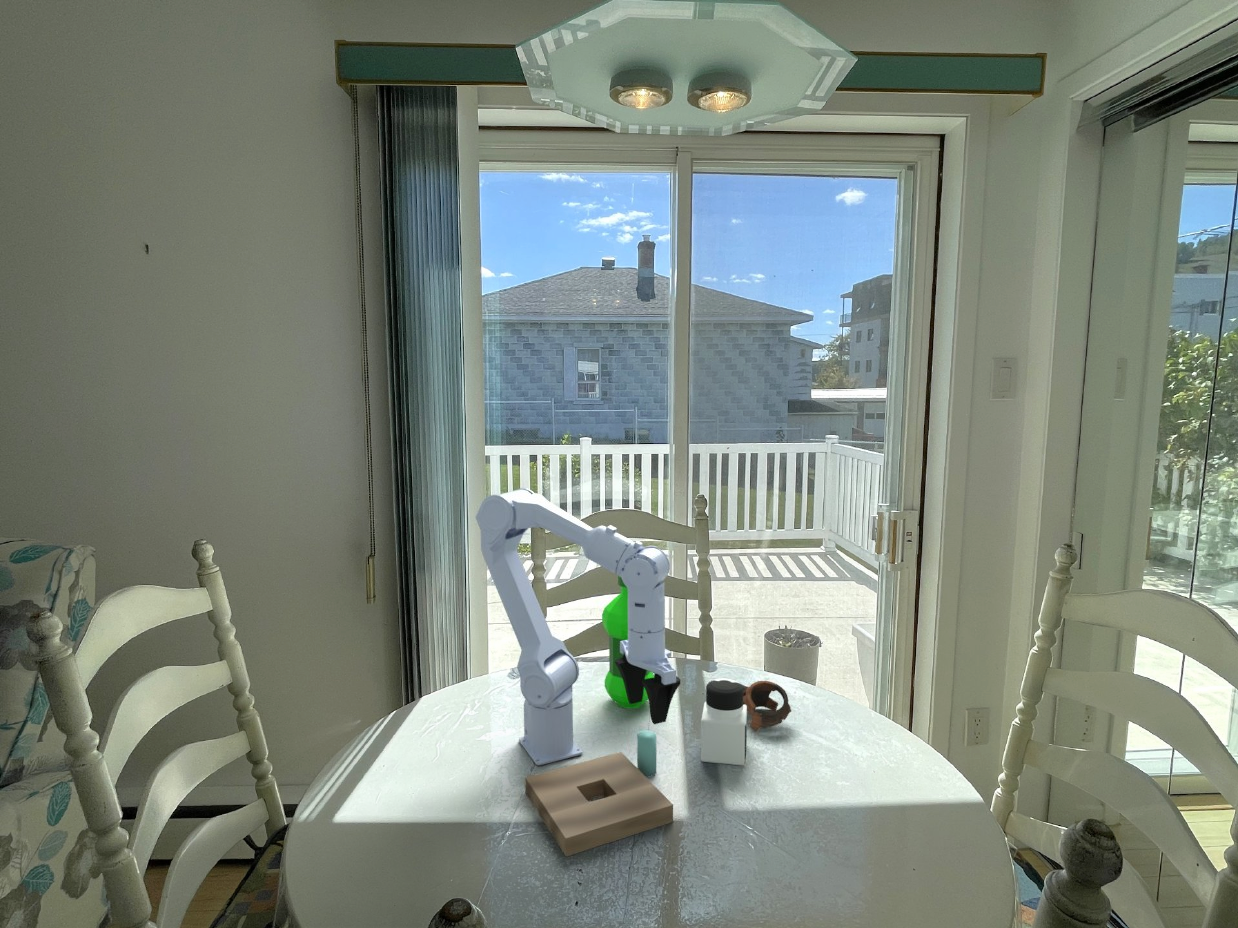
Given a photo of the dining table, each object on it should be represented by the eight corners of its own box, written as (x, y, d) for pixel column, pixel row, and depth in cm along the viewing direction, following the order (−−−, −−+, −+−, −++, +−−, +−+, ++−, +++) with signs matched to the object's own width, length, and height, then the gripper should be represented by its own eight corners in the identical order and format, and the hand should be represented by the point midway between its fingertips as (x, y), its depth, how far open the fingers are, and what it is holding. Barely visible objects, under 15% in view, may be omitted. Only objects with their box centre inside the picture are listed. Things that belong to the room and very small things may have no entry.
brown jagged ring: (792, 714, 129) (799, 686, 124) (776, 755, 122) (783, 728, 117) (731, 687, 133) (736, 660, 129) (713, 726, 127) (717, 699, 122)
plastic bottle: (658, 713, 128) (658, 582, 126) (602, 714, 128) (600, 582, 126) (656, 690, 138) (656, 568, 136) (603, 691, 138) (602, 568, 136)
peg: (634, 768, 109) (633, 732, 109) (650, 764, 111) (650, 728, 110) (643, 778, 107) (642, 741, 106) (659, 773, 108) (659, 736, 107)
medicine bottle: (745, 766, 110) (746, 694, 109) (700, 762, 111) (700, 690, 110) (746, 744, 117) (747, 676, 116) (704, 740, 118) (704, 672, 117)
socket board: (525, 793, 103) (525, 777, 103) (621, 766, 110) (621, 751, 110) (566, 856, 89) (565, 838, 88) (673, 821, 96) (673, 804, 96)
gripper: (693, 637, 102) (693, 725, 103) (646, 610, 115) (646, 689, 116) (652, 645, 99) (652, 736, 100) (608, 616, 112) (609, 697, 113)
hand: (646, 711), depth 108 cm, fingers open, 7 cm apart
